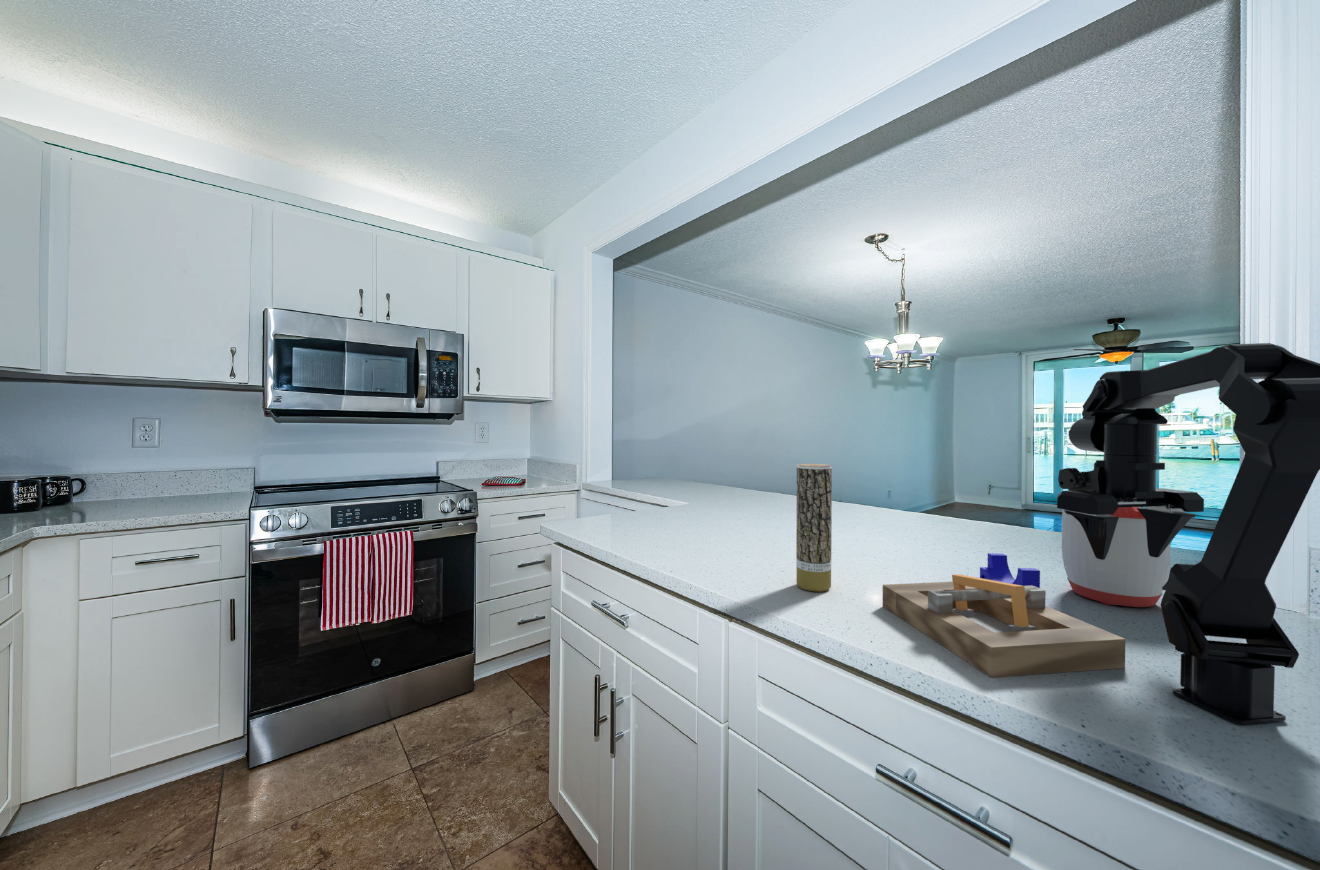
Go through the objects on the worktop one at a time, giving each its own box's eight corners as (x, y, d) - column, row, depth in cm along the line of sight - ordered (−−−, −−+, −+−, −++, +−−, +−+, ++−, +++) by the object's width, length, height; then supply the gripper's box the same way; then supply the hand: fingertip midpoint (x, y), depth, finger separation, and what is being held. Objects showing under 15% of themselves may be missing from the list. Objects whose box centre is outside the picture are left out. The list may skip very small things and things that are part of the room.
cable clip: (979, 581, 103) (980, 553, 103) (1002, 581, 103) (1002, 553, 103) (1013, 601, 92) (1014, 569, 91) (1039, 602, 91) (1040, 570, 91)
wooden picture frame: (1124, 667, 66) (1125, 617, 66) (990, 677, 64) (991, 624, 64) (982, 601, 91) (983, 564, 91) (882, 606, 89) (882, 568, 89)
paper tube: (838, 590, 97) (839, 465, 97) (811, 594, 95) (811, 467, 94) (816, 580, 104) (816, 463, 103) (789, 584, 101) (789, 464, 101)
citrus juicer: (1114, 582, 101) (1116, 487, 101) (1198, 615, 84) (1201, 500, 84) (1034, 580, 103) (1036, 486, 103) (1100, 612, 86) (1102, 499, 85)
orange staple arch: (1037, 635, 70) (1030, 586, 71) (1018, 636, 70) (1011, 586, 71) (967, 615, 84) (962, 574, 85) (951, 616, 83) (946, 574, 84)
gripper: (1126, 451, 82) (1125, 542, 82) (1026, 452, 80) (1025, 546, 80) (1208, 455, 71) (1205, 561, 71) (1094, 457, 69) (1092, 566, 69)
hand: (1127, 557), depth 73 cm, fingers open, 9 cm apart
